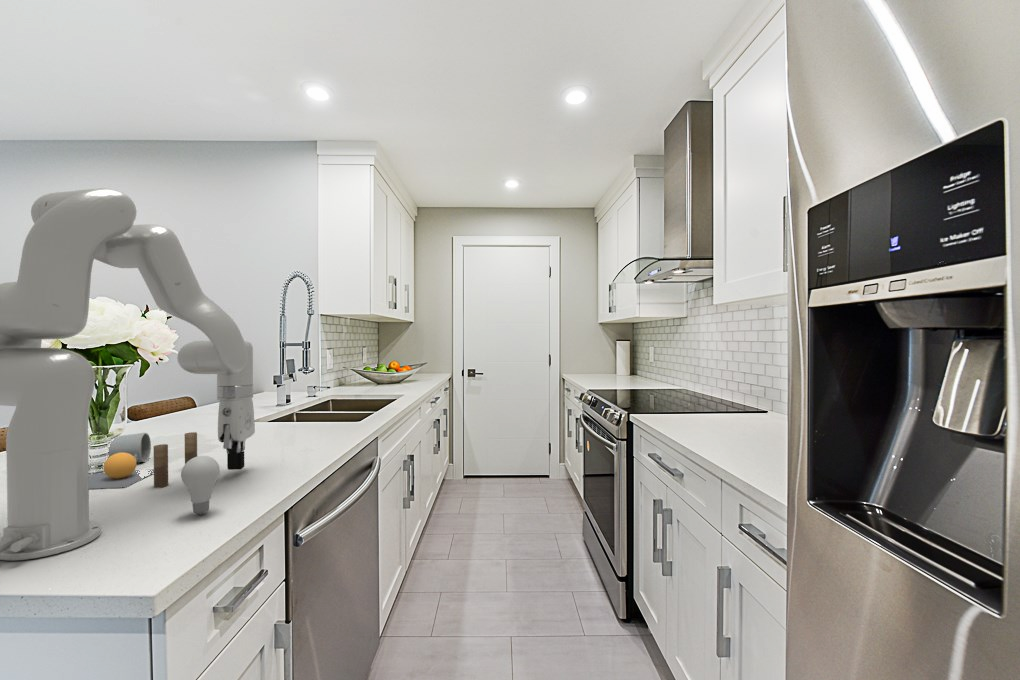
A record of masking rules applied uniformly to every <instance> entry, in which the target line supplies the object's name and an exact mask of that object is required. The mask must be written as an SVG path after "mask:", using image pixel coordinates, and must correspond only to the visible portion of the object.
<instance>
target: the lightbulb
mask: <svg viewBox="0 0 1020 680" xmlns="http://www.w3.org/2000/svg"><path fill="white" fill-rule="evenodd" d="M220 468H221V467H220V464H219V463H218V461H217V460H216V459H214V457H211V456H208V455H197V457H194V458H192V459H191V460H189V461H188V462H187V463H186V464H185V463H184V465H183V467H182V469H181V473H180V478H181V482H182V483H183V484H184V486H185V487H186V488H187V490H188V492H189V496H190V502H191V503H192V512H193V513H194V514H196V515H199V516H200V515H201V516H202V515H204V514H205V513H206V512H208V511H209V510H210V499H211V498H212V490H213V487H214V485H215V483H216V482H217V480H218V478H219V476H220V471H221V470H220Z"/></svg>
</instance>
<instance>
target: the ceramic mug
mask: <svg viewBox="0 0 1020 680" xmlns="http://www.w3.org/2000/svg"><path fill="white" fill-rule="evenodd" d="M118 436H119V437H117V438H115V439H114V440H113V441H112V442H111V444H110V447H109V457H110V456H112V455H114V454H116V453H129V454H131V455H132V456H133V457H134V458H135V459H136V463H137V464H140V462H143V463H146V462H148V460H149V458H150V456H151V450H152V444H151V438H150V435H149V433H147V432H139V433H133V434H132V433H131V434H123V435H118ZM109 457H108V458H109ZM145 461H146V462H145Z"/></svg>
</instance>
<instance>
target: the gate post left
mask: <svg viewBox="0 0 1020 680" xmlns="http://www.w3.org/2000/svg"><path fill="white" fill-rule="evenodd" d="M153 469H154V474H153V488H155V487H161V488H164V487H163V486H165V487H168V486H169V445H168V444H167V443H166V444H165V443H163V444H156V445H154V446H153ZM167 485H168V486H167Z"/></svg>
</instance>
